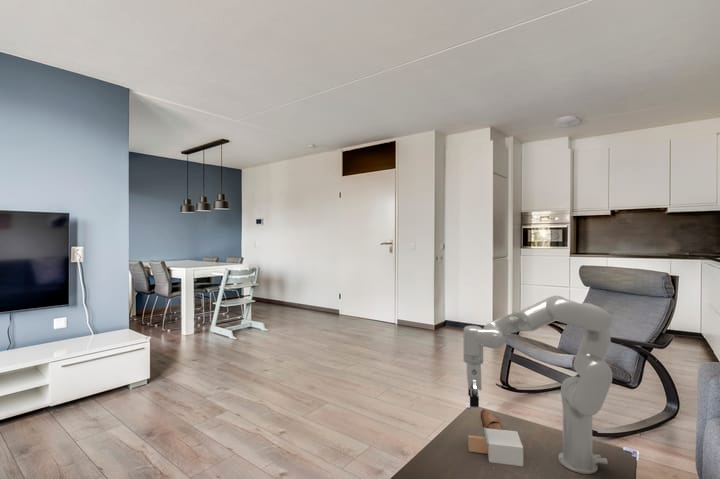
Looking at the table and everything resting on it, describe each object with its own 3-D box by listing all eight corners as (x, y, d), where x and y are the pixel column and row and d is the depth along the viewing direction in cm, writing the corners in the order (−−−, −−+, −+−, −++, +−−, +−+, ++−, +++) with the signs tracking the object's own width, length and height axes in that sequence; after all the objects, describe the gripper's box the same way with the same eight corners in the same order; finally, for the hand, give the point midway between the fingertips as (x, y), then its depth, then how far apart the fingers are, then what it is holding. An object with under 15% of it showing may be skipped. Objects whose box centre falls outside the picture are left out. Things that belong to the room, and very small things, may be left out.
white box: (517, 448, 149) (517, 430, 149) (523, 466, 137) (523, 447, 137) (483, 444, 152) (483, 427, 152) (486, 461, 140) (486, 442, 140)
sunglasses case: (506, 436, 159) (497, 421, 159) (491, 443, 160) (483, 429, 160) (499, 416, 176) (491, 404, 177) (485, 423, 177) (478, 410, 178)
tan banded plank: (503, 453, 145) (503, 438, 145) (503, 455, 144) (503, 441, 144) (468, 449, 148) (468, 435, 148) (468, 451, 147) (468, 437, 147)
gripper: (485, 365, 138) (485, 412, 138) (481, 352, 155) (481, 393, 155) (464, 364, 140) (464, 409, 140) (462, 351, 157) (462, 391, 156)
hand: (473, 401), depth 147 cm, fingers open, 9 cm apart
